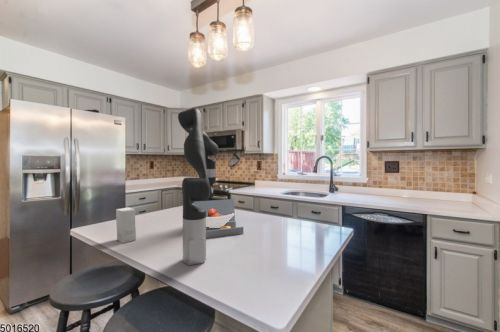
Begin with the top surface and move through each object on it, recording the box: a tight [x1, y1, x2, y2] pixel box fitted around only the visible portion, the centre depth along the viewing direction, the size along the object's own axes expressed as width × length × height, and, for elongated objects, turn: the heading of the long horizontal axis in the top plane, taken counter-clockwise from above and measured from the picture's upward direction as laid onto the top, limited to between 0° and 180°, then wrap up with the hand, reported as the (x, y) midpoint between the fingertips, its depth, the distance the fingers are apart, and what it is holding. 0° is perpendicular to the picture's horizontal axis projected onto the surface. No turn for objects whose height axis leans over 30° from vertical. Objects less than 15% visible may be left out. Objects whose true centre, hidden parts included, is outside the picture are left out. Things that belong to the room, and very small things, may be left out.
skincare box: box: [115, 206, 137, 244], centre depth 117 cm, size 8×7×16 cm
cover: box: [193, 198, 236, 222], centre depth 138 cm, size 13×24×1 cm
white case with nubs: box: [206, 220, 244, 239], centre depth 131 cm, size 13×24×4 cm, turn 114°
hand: (209, 203), depth 149 cm, fingers closed
